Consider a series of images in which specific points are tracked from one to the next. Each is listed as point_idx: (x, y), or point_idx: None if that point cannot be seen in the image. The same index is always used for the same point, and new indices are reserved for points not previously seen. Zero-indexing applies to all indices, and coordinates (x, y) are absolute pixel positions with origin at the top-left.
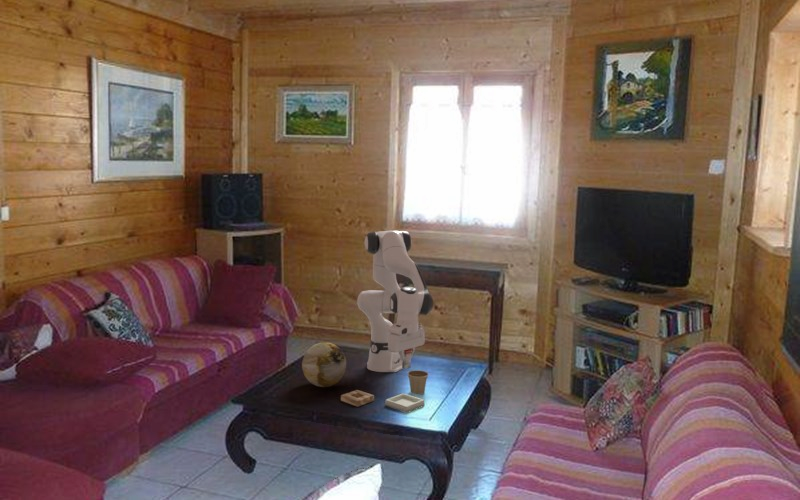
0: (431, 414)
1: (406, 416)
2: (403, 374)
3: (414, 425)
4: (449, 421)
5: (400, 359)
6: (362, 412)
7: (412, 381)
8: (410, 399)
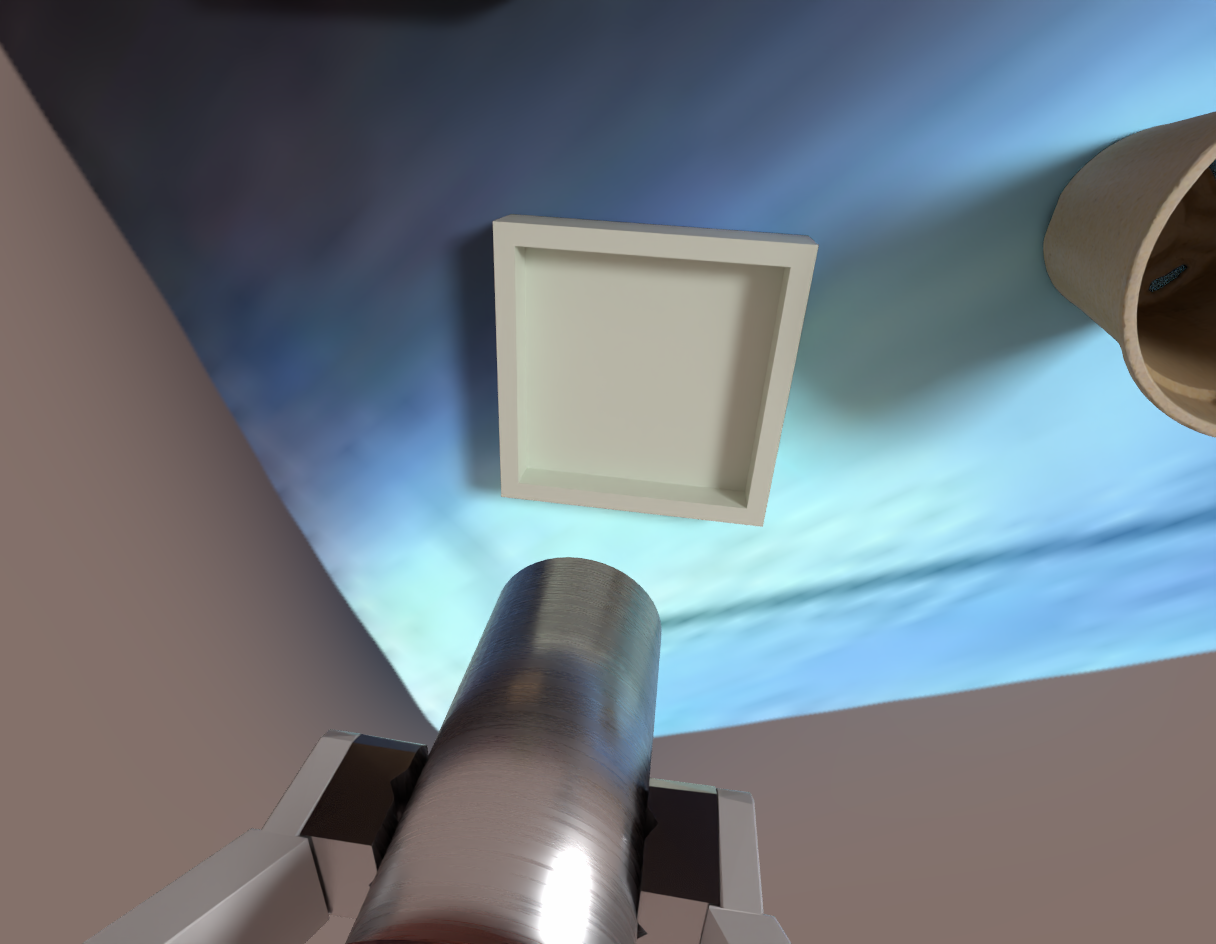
0: None
1: (455, 509)
2: None
3: (379, 621)
4: None
5: (329, 740)
6: (209, 158)
7: (1113, 240)
8: (769, 360)
